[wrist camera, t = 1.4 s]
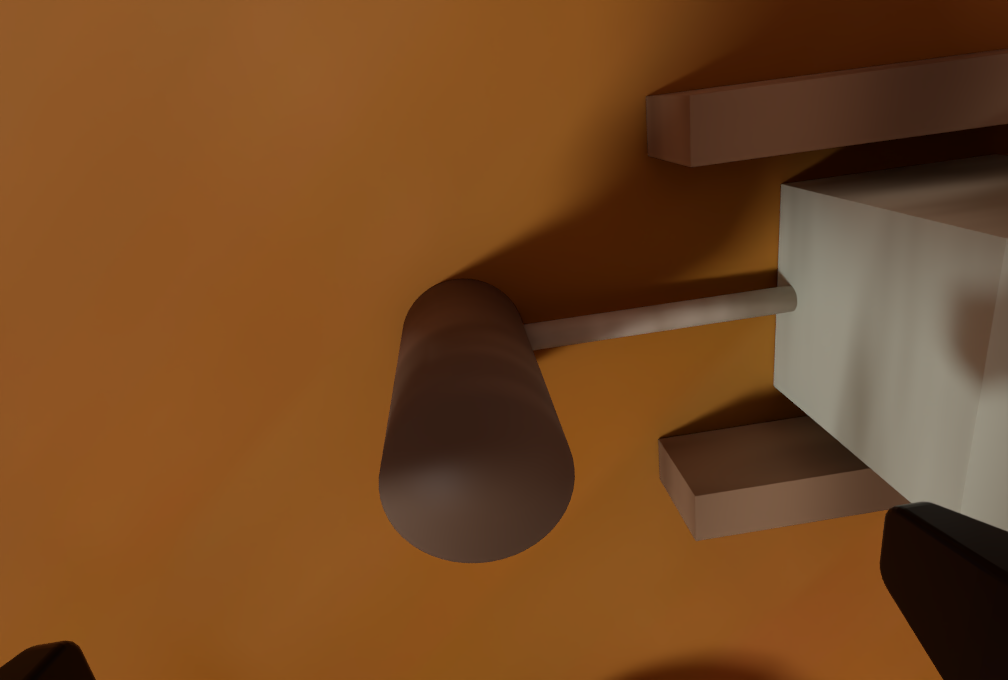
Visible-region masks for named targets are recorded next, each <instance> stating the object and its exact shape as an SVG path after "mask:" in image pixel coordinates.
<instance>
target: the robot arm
mask: <svg viewBox="0 0 1008 680" xmlns="http://www.w3.org/2000/svg"><path fill="white" fill-rule="evenodd" d="M880 571H881V575H882V579H883V581H884V584H885V586H886V588H887V589H888V591H889V593H890V594H891V596H892V598H893V599H894V601H895V602H896V604H897V606H898V607H899V609H900V610H901V612H902V614H903V615H904V617H905V619H906V620H907V622H908V623H909V625H910V627H911V628H912V630H913V632H914V633H915V635H916V636H917V638H918V640H919V641H920V643H921V644H922V646H923V648H924V649H925V651H926V653H927V654H928V656H929V657H930V659H931V661H932V662H933V664H934V665H935V667H936V669H937V670H938V672H939V674H940V675H941V677H942V678H943V680H1008V531H1005V530H1003V529H1000V528H997V527H995V526H992V525H990V524H987V523H984V522H982V521H979V520H976V519H974V518H971V517H969V516H966V515H963V514H961V513H958V512H955V511H953V510H950V509H947V508H945V507H942V506H940V505H937V504H934V503H931V502H915V503H909V504H903V505H897V506H894V507H892V508H890V509H889V510H888V512H887V513H886V516H885V522H884V530H883V539H882V548H881V556H880ZM0 680H96V679H95V677H94V675H93V673H92V671H91V669H90V667H89V665H88V663H87V661H86V659H85V657H84V654H83V652H82V650H81V649H80V647H79V646H78V645H77V644H75V643H74V642H72V641H60V642H54V643H48V644H42V645H36V646H33V647H30V648H28V649H26V650H24V651H23V652H21V653H20V654H18V655H17V656H16V657H14V658H13V659H12V660H10V661H9V662H7V663H6V664H5V665H3V666H2V667H0Z"/></svg>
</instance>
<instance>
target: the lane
mask: <svg viewBox="0 0 1008 680" xmlns="http://www.w3.org/2000/svg"><path fill="white" fill-rule="evenodd" d="M646 118H647V145H648V156H650V157H654V158H658V159H661V160H665V161H669V162H673V163H676V164H680V165H684V166H688V167H697V166H704V165H711V164H719V163H726V162H733V161H740V160H748V159H755V158H762V157H769V156H777V155H784V154H791V153H798V152H806V151H813V150H820V149H828V148H835V147H842V146H849V145H857V144H864V143H871V142H878V141H886V140H893V139H900V138H908V137H915V136H922V135H929V134H937V133H944V132H951V131H958V130H966V129H973V128H980V127H987V126H995V125H1002V124H1008V49H1000V50H993V51H985V52H978V53H970V54H962V55H955V56H947V57H940V58H932V59H925V60H917V61H910V62H902V63H894V64H887V65H879V66H872V67H864V68H857V69H849V70H842V71H834V72H826V73H819V74H811V75H804V76H796V77H789V78H781V79H773V80H766V81H758V82H751V83H743V84H736V85H728V86H721V87H713V88H705V89H698V90H690V91H683V92H675V93H668V94H660V95H652V96H646ZM658 440H659V467H660V480H661V482H662V483H663V485H664V487H665V489H666V490H667V492H668V494H669V495H670V497H671V499H672V501H673V502H674V504H675V506H676V508H677V509H678V511H679V513H680V514H681V516H682V518H683V520H684V521H685V523H686V525H687V527H688V528H689V530H690V532H691V533H692V535H693V537H694V539H695V540H696V541H699V540H705V539H711V538H717V537H723V536H729V535H735V534H741V533H747V532H754V531H760V530H766V529H772V528H778V527H784V526H790V525H796V524H803V523H809V522H815V521H821V520H827V519H833V518H839V517H845V516H851V515H858V514H864V513H870V512H876V511H882V510H888V509H890V508H892V507H894V506H897V505H903V504H909V503H911V502H909V501H908V500H907V499H906V498H905V497H904V496H902V495H901V494H900V493H899V492H898V491H897V490H895V489H894V488H893V487H892V486H891V485H889V484H888V483H887V482H886V481H885V480H884V479H882V478H881V477H880V476H879V475H878V474H877V473H875V472H874V471H873V470H872V469H871V468H870V467H868V466H867V465H866V464H865V463H864V462H862V461H861V460H860V459H859V458H858V457H857V456H855V455H854V454H853V453H852V452H851V451H850V450H848V449H847V448H846V447H845V446H844V445H843V444H841V443H840V442H839V441H838V440H837V439H835V438H834V437H833V436H832V435H831V434H830V433H828V432H827V431H826V430H825V429H824V428H823V427H821V426H820V425H819V424H818V423H817V422H815V421H814V420H813V419H812V418H811V417H810V416H803V417H797V418H790V419H784V420H778V421H771V422H765V423H758V424H752V425H746V426H739V427H733V428H726V429H720V430H713V431H707V432H701V433H694V434H688V435H681V436H675V437H669V438H662V439H658Z"/></svg>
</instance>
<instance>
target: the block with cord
mask: <svg viewBox="0 0 1008 680" xmlns="http://www.w3.org/2000/svg"><path fill="white" fill-rule="evenodd" d="M772 314H776V337H775V364H774V387H776V388H777V389H778V390H779V391H780V392H781V393H783V394H784V395H785V396H786V397H787V398H788V399H790V400H791V401H792V402H793V403H794V404H796V405H797V406H798V407H799V408H800V409H801V410H803V411H804V412H805V413H806V414H807V415H808V416H810V417H811V418H812V419H813V420H814V421H815V422H817V423H818V424H819V425H820V426H821V427H823V428H824V429H825V430H826V431H827V432H828V433H830V434H831V435H832V436H833V437H834V438H835V439H837V440H838V441H839V442H840V443H841V444H843V445H844V446H845V447H846V448H847V449H848V450H850V451H851V452H852V453H853V454H854V455H855V456H857V457H858V458H859V459H860V460H861V461H862V462H864V463H865V464H866V465H867V466H868V467H870V468H871V469H872V470H873V471H874V472H875V473H877V474H878V475H879V476H880V477H881V478H882V479H884V480H885V481H886V482H887V483H888V484H889V485H891V486H892V487H893V488H894V489H895V490H897V491H898V492H899V493H900V494H901V495H902V496H904V497H905V498H906V499H907V500H908V501H909V502H911V503H915V502H931V503H934V504H937V505H940V506H942V507H945V508H947V509H950V510H953V511H955V512H958V513H961V514H963V515H966V516H969V517H971V518H974V519H976V520H979V521H982V522H984V523H987V524H990V525H992V526H995V527H997V528H1000V529H1003V530H1005V531H1008V155H999V154H993V155H985V156H978V157H971V158H964V159H957V160H950V161H943V162H936V163H928V164H921V165H914V166H907V167H900V168H893V169H886V170H878V171H871V172H864V173H857V174H850V175H843V176H836V177H828V178H821V179H814V180H807V181H800V182H793V183H786V184H781V203H780V230H779V257H778V283H777V287H775V288H768V289H761V290H754V291H747V292H741V293H734V294H727V295H720V296H714V297H707V298H700V299H693V300H687V301H680V302H673V303H666V304H659V305H653V306H646V307H639V308H632V309H626V310H619V311H612V312H605V313H599V314H592V315H585V316H578V317H571V318H565V319H558V320H551V321H544V322H538V323H531V324H524V325H523V323H522V320H521V317H520V315H519V313H518V311H517V309H516V307H515V306H514V304H513V303H512V301H511V300H510V299H509V298H508V297H507V296H506V295H505V294H504V293H503V292H501V291H500V290H499V289H497V288H495V287H494V286H492V285H490V284H487V283H485V282H481V281H478V280H472V279H455V280H450V281H446V282H443V283H440V284H437V285H435V286H433V287H431V288H430V289H428V290H427V291H425V292H424V293H423V294H422V295H421V296H420V297H419V298H418V299H417V300H416V301H415V302H414V303H413V305H412V306H411V308H410V310H409V312H408V314H407V316H406V318H405V322H404V326H403V332H402V338H401V344H400V350H399V356H398V363H397V369H396V375H395V381H394V387H393V393H392V400H391V406H390V412H389V418H388V424H387V430H386V437H385V443H384V449H383V455H382V461H381V468H380V474H379V492H380V499H381V502H382V505H383V509H384V511H385V513H386V515H387V517H388V519H389V521H390V522H391V524H392V525H393V527H394V528H395V529H396V530H397V531H398V533H399V534H400V535H401V536H402V537H403V538H404V539H406V540H407V541H408V542H409V543H410V544H412V545H413V546H415V547H416V548H418V549H420V550H421V551H423V552H425V553H427V554H430V555H432V556H435V557H438V558H441V559H444V560H449V561H453V562H461V563H483V562H491V561H496V560H500V559H504V558H507V557H510V556H513V555H516V554H518V553H520V552H522V551H524V550H526V549H528V548H529V547H531V546H533V545H534V544H536V543H537V542H539V541H540V540H541V539H542V538H544V537H545V536H546V535H547V534H548V533H549V532H550V531H551V530H552V529H553V528H554V527H555V526H556V524H557V523H558V522H559V521H560V519H561V517H562V516H563V514H564V513H565V511H566V509H567V506H568V504H569V502H570V499H571V496H572V492H573V487H574V480H575V475H574V463H573V458H572V455H571V452H570V449H569V446H568V443H567V440H566V438H565V435H564V432H563V430H562V427H561V424H560V422H559V419H558V416H557V414H556V411H555V408H554V406H553V403H552V400H551V398H550V395H549V392H548V390H547V387H546V384H545V382H544V379H543V376H542V374H541V371H540V368H539V366H538V363H537V360H536V358H535V355H534V352H533V350H538V349H545V348H552V347H558V346H565V345H572V344H578V343H585V342H592V341H598V340H605V339H612V338H618V337H625V336H632V335H638V334H645V333H652V332H658V331H665V330H672V329H679V328H685V327H692V326H699V325H705V324H712V323H719V322H725V321H732V320H739V319H745V318H752V317H759V316H765V315H772Z"/></svg>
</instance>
